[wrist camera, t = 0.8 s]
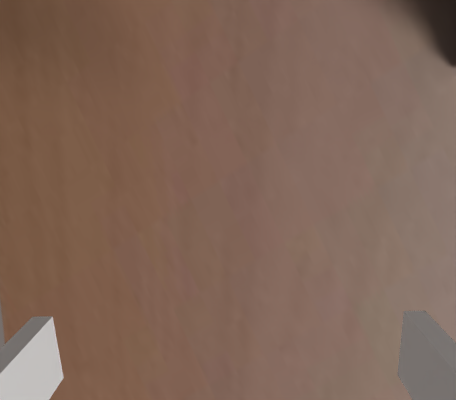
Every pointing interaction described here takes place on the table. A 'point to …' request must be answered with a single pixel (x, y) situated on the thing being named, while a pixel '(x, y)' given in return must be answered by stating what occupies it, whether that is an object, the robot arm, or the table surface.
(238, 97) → the table surface
